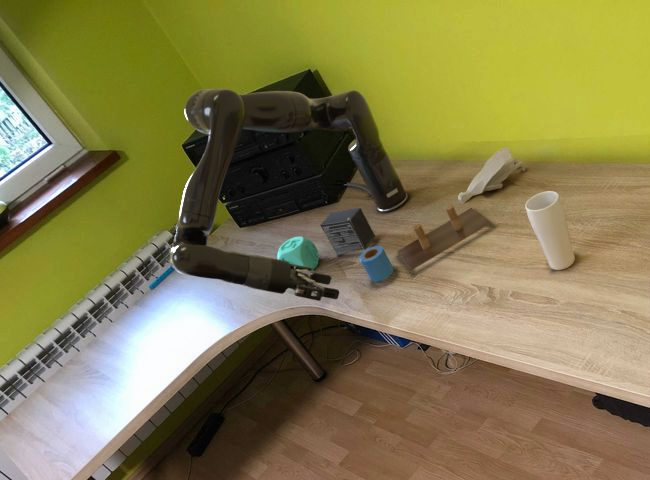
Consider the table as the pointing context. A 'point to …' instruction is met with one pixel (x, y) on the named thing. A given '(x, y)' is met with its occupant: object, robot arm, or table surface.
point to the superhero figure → (491, 174)
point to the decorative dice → (299, 252)
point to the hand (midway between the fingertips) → (334, 287)
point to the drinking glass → (551, 228)
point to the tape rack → (442, 236)
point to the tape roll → (376, 263)
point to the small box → (348, 230)
